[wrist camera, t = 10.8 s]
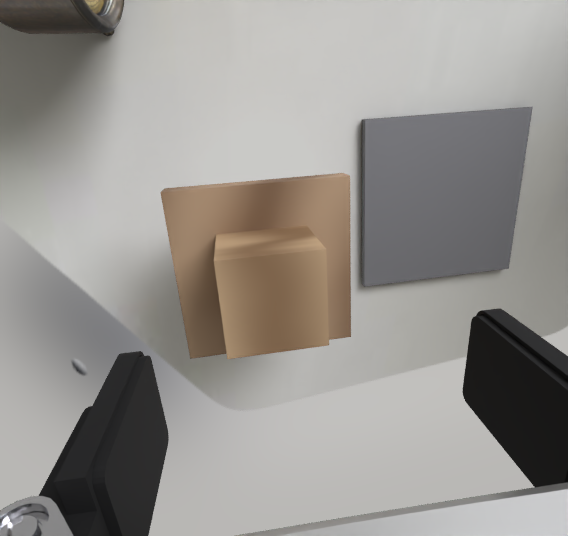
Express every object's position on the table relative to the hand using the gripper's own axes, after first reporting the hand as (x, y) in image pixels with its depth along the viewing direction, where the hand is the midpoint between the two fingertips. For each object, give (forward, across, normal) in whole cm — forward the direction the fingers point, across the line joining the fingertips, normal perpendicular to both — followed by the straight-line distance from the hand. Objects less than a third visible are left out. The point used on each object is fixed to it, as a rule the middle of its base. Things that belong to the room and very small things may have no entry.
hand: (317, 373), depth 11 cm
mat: (+18, -13, 0) cm, 22 cm away
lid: (+10, +1, 0) cm, 10 cm away
